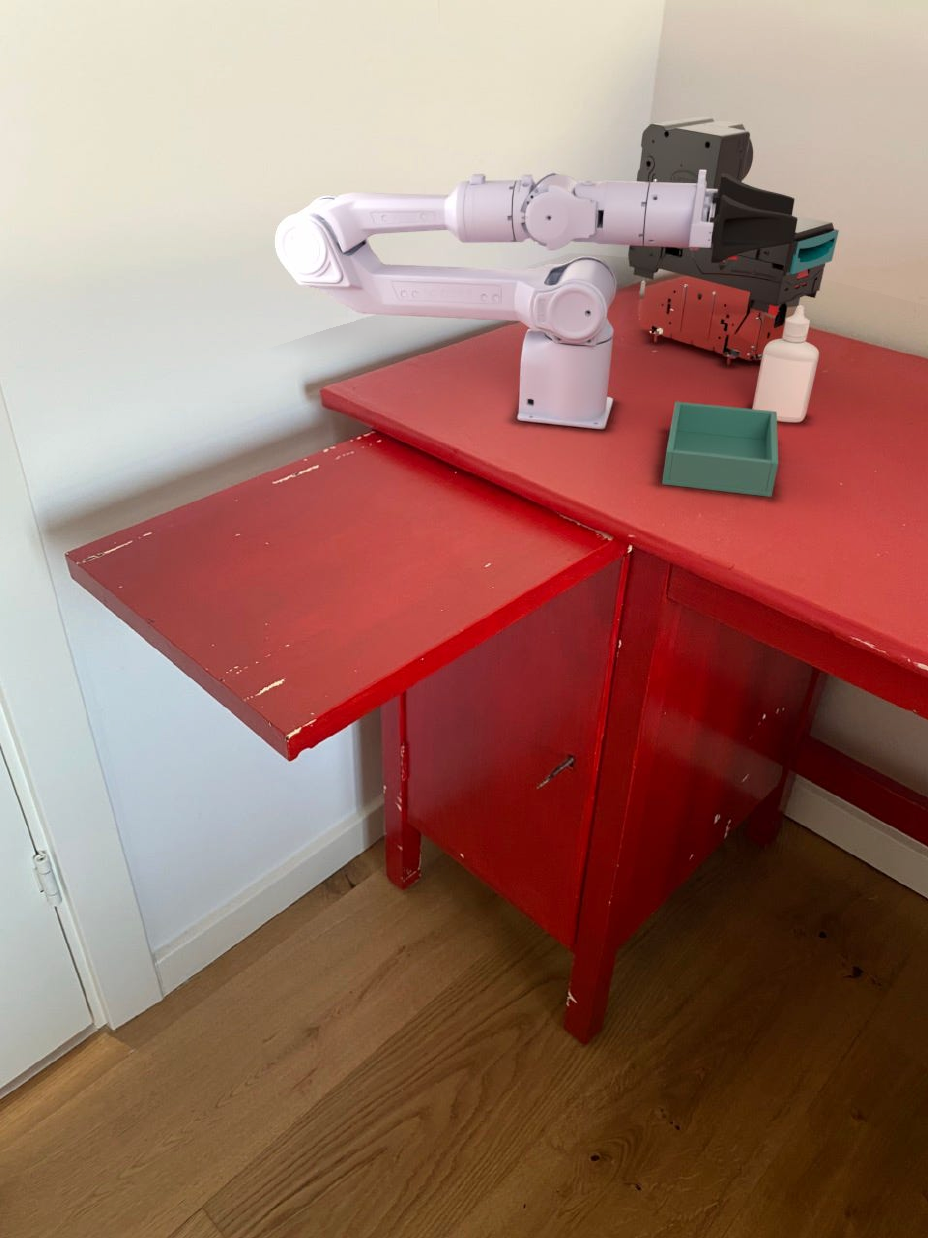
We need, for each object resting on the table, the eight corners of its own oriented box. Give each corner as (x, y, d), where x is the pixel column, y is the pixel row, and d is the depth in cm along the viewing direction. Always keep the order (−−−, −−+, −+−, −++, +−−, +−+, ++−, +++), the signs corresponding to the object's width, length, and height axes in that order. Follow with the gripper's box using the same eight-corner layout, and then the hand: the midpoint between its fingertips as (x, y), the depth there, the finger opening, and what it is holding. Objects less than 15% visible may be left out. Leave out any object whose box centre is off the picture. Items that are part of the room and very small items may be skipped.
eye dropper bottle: (785, 429, 104) (808, 317, 97) (744, 411, 108) (765, 302, 101) (811, 419, 106) (837, 309, 99) (771, 402, 110) (793, 295, 103)
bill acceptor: (768, 379, 115) (813, 148, 101) (615, 331, 129) (636, 121, 114) (813, 357, 121) (862, 136, 107) (663, 314, 135) (688, 112, 120)
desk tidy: (661, 484, 93) (666, 451, 91) (671, 432, 103) (675, 401, 101) (771, 497, 91) (778, 463, 89) (770, 442, 101) (776, 411, 99)
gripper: (644, 186, 86) (805, 191, 83) (657, 154, 97) (798, 157, 94) (638, 268, 90) (790, 275, 87) (650, 228, 101) (786, 233, 99)
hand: (794, 219), depth 91 cm, fingers open, 7 cm apart
